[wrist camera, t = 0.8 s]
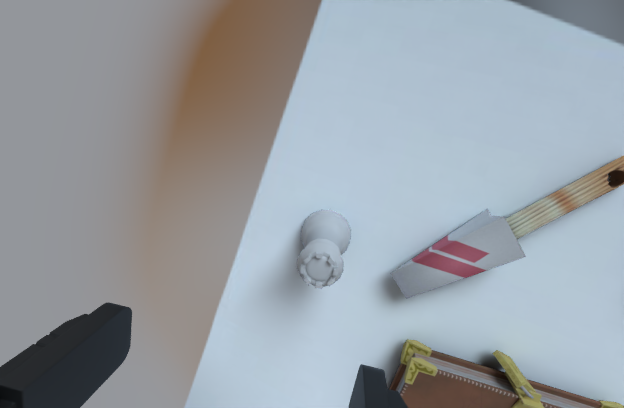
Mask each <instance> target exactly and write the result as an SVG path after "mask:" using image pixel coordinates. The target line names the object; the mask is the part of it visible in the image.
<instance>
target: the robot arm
mask: <svg viewBox="0 0 624 408" xmlns="http://www.w3.org/2000/svg"><path fill="white" fill-rule="evenodd" d="M131 321H132V310H131V309H130V308H129V307H125V306H121V305H117V304H113V303H105V304H103V305H102V306H100V307H99V308H97V309H96V310H95V311H93V312H92V313H91V314H89V315H88V314H84V315H81V316H79V317H76V318H74V319H71V320H69V321H67V322H65V323H63V324H62V325H61V326H59V327H58V328H56V329H55V330H53V331H52V332H50V334H49V335H46V336H45V337H43V338H42V339H40V340H39V341H38V342H37V343H36V344H33V345H31V346H30V347H29V348H27V349H26V350H24V351H23V352H21V353H20V354H18V355H17V356H16V357H14V358H13V359H11V360H10V361H9V362H7V363H5V364H4V365H2V366H1V367H0V408H80V407H81V406H82V405H83V404H84V403H85V402H86V401H87V400H88V399H89V398H90V397H91V396H92V394H93V393H94V392H95V391H96V390H97V389H98V388H99V387H100V386H101V385H102V384H103V383H104V382H105V381H106V380H107V379H108V378H109V377H110V376H111V375H112V373H113V372H114V371H115V370H116V369H117V368H118V367H119V366H120V365H121V364H122V363H123V361H124V360H125V358H126V356H127V354H128V352H129V348H130V340H131V339H130V338H131ZM349 408H408V407H407V405H406V403H405V402H404V400H403V398H402V397H401V395H400V393H399V392H398V391H394V390H390V389H387V385H386V378H385V372H384V370H382V369H378V368H374V367H370V366H366V365H362V364H361V365H360V367H359V370H358V374H357V378H356V381H355V385H354V388H353V392H352V396H351V399H350V403H349Z"/></svg>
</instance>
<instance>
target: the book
mask: <svg viewBox="0 0 624 408" xmlns="http://www.w3.org/2000/svg"><path fill="white" fill-rule="evenodd" d="M493 355H494V356H495V357H496V359H497V360H498V361H499V363H500V364H501V365H502V367H503V368H504V369H505V372H501V371H498V370H495V369H492V368H488V367H485V366H482V365H479V364H475V363H472V362H469V361H466V360H463V359H459V358H456V357H453V356H450V355H446V354H443V353H440V352H437V351H433V350H431V348H429V347H427V346H425V345H424V344H422V343H420V342H418V341H416V340H408V339H407V340H406V342H405V343H404V345H403V349H402V353H401V358H400V361H401V364H400V366H399V368H398V371H397V373H396V375H395V377H394V379H393V381H392V384H391V386H390V388H389V389H390V390H394V391H398V392H399V393H400V395H401V397H402V398H403V400H404V402H405V403H406V405H407V407H408V408H624V406H623V405H621V404H619V403H616V402H609V401H601V400H599V401H595V400H592V399H589V398H586V397H582V396H579V395H576V394H573V393H569V392H566V391H563V390H560V389H556V388H553V387H550V386H547V385H544V384H540V383H537V382H534V381H531V380H527V379H526V378H525V377H524V376H523V375H522V373H521V372H520V370H519V369H518V367H517V366H516V365H515V363H514V362H513V360H512V359H511V358H510V357H509V356H507V355H505V354H503V353H502V352H500V351H498V350H497V351H495V352H494V353H493Z"/></svg>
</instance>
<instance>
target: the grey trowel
mask: <svg viewBox="0 0 624 408" xmlns="http://www.w3.org/2000/svg"><path fill="white" fill-rule="evenodd" d="M608 173H609V175H610V176H611V177H610V179H609V181H610V182H608V181H607V179H608V176H609V175H607V174H608ZM623 184H624V156H622V157H620V158H618V159H616V160H614V161H613V162H611V163H609V164H607V165H605V166H603V167H601V168H600V169H598V170H596V171H594V172H592V173H590V174H588V175H586V176H584V177H583V178H581V179H579V180H577V181H575V182H573V183H571V184H569V185H568V186H566V187H564V188H562V189H560V190H558V191H556V192H554V193H553V194H551V195H549V196H547V197H545V198H543V199H541V200H540V201H538V202H536V203H534V204H532V205H530V206H529V207H527V208H525V209H523V210H521V211H519V212H517V213H516V214H514V215H512V216H510V217H508V218H506V219H505V217H504V216H492V215H491V214H490V212H489V210H488V209H486V210H485V211H483V212H482V213H480V214H479V215H477V216H476V217H474V218H473V219H471V220H470V221H468V222H467V223H465V224H464V225H462V226H461V227H459V228H458V229H456V230H455V231H453V232H452V233H450V234H449V235H447V236H446V237H444V238H443V239H441V240H440V241H438V242H437V243H435V244H434V245H432V246H431V247H429V248H428V249H426V250H425V251H423V252H422V253H420V254H419V255H417V256H416V257H414V258H413V259H411V260H410V261H408V262H407V263H405V264H404V265H402V266H401V267H399V268H398V269H396V270H395V271H393V272H392V273H390V274H391V275H392V277H393V278H394V280H395V282H396V283H397V285H398V286H399V288H400V289H401V291H402V293H403V294H404V296H405V297H406V299H407V298H410V297H412V296H415V295H418V294H421V293H424V292H427V291H430V290H432V289H435V288H438V287H441V286H444V285H447V284H449V283H452V282H455V281H458V280H461V279H464V278H466V277H469V276H472V275H475V274H478V273H481V272H483V271H486V270H489V269H492V268H495V267H498V266H501V265H503V264H506V263H509V262H512V261H515V260H518V259H520V258H523V257H526V256H525V254H524V252H523V250H522V248H521V246H520V245H519V243H518V241H517V239H518V238H520V237H522V236H524V235H526V234H528V233H530V232H532V231H534V230H536V229H537V228H539V227H541V226H543V225H545V224H547V223H549V222H551V221H553V220H555V219H557V218H559V217H561V216H563V215H565V214H567V213H568V212H570V211H572V210H574V209H576V208H578V207H580V206H582V205H584V204H586V203H588V202H590V201H592V200H594V199H596V198H598V197H600V196H602V195H604V194H606V193H608V192H610V191H612V190H614V189H615V188H617V187H619V186H621V185H623Z"/></svg>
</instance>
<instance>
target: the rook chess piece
mask: <svg viewBox="0 0 624 408" xmlns="http://www.w3.org/2000/svg"><path fill="white" fill-rule="evenodd" d="M350 239H351V229H350V226H349V223H348V221H347V220H346V219H345V218H344V217H343V216H342V215H341V214H340V213H337V212H335V211H333V210H319V211H316V212H314V213H312V214H311V215H310V216H309V217H308V218H306V220H305V222H304V224H303V226H302V231H301V241H302V243H303V246H304V248H305V249H303V250H302V251H301V252H300V254H299V257H298V259H297V269H298V271H299V274H300V276H301V277H302V278H303V281H305V282H306V283H307V284H308V285H309V284H312V285H314V286H315V288H319V289H322V288H323V287H325V286H331V285H332V284H333V283H335V282H336V281H337V280H338V279H339V278H340V277H341V275H342V273H343V268H344V262H343V259H342V257H341V255H342V254H343V253H344V252H345V251H346V249H347V247H348V245H349V243H350Z"/></svg>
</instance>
